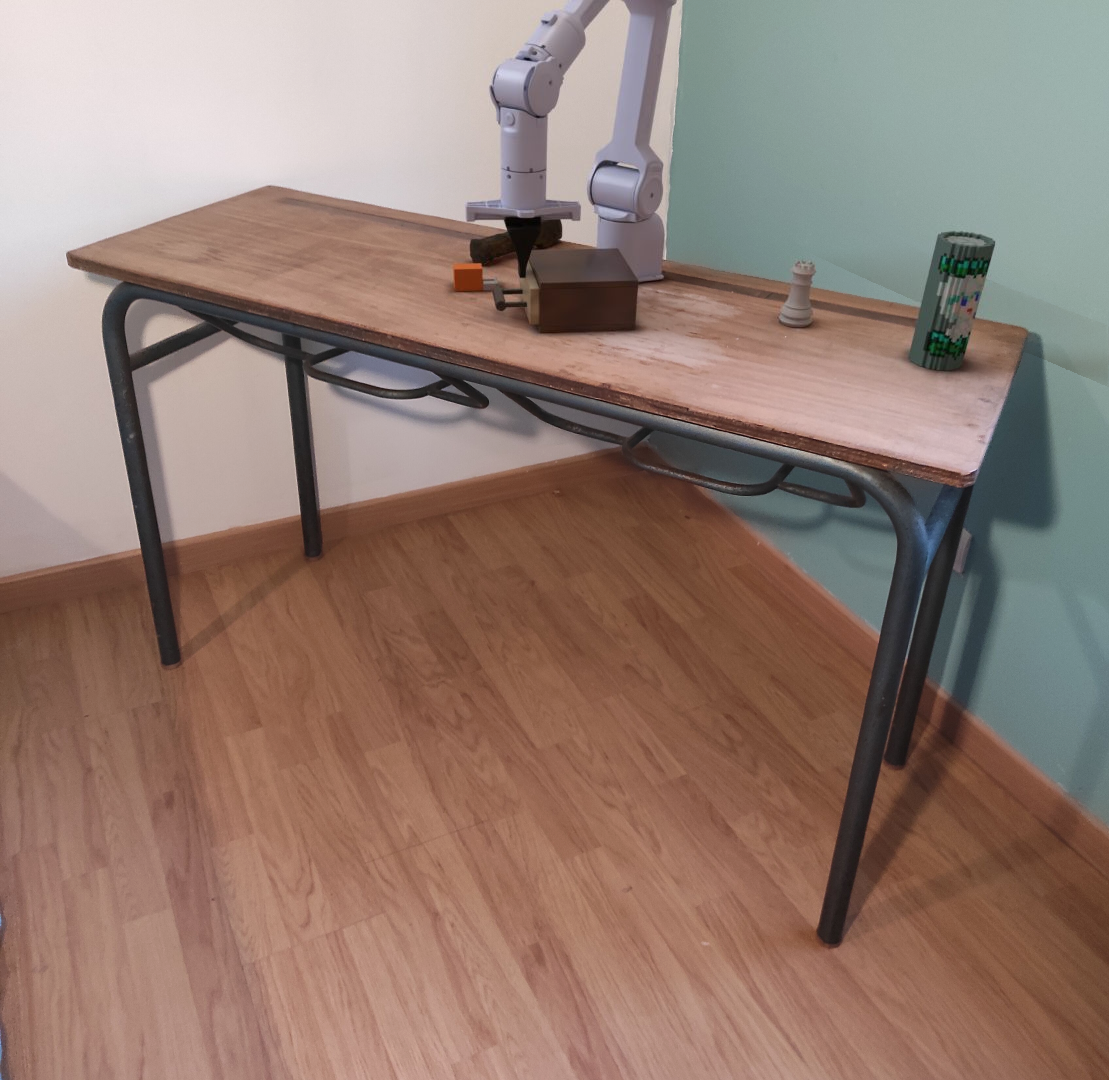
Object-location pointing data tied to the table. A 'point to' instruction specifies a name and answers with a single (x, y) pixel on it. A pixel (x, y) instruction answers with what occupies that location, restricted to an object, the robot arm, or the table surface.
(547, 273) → the cabinet
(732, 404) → the table surface
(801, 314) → the rook chess piece
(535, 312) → the drawer
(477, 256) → the hand tool
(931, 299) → the can
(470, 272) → the block
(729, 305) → the table surface
